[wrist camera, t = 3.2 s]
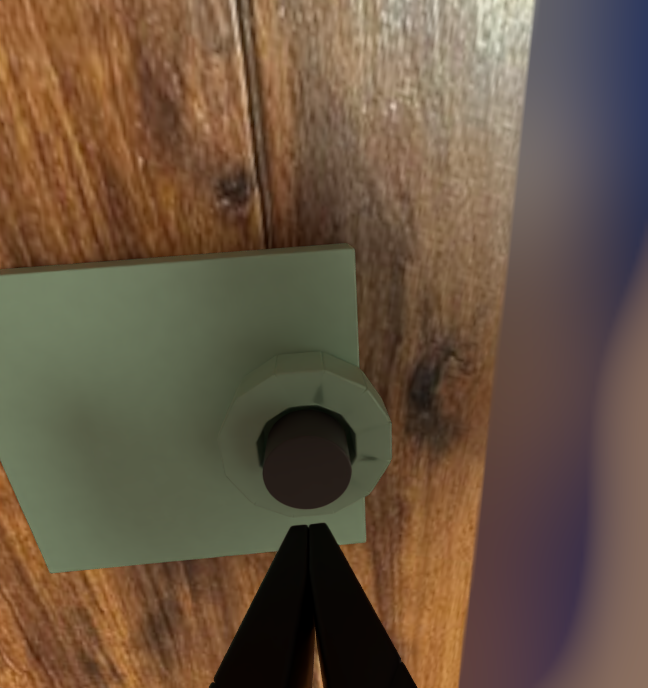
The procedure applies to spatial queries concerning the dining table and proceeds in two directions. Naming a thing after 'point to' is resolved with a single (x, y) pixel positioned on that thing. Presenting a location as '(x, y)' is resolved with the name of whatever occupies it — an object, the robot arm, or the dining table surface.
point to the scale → (178, 400)
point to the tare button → (306, 460)
